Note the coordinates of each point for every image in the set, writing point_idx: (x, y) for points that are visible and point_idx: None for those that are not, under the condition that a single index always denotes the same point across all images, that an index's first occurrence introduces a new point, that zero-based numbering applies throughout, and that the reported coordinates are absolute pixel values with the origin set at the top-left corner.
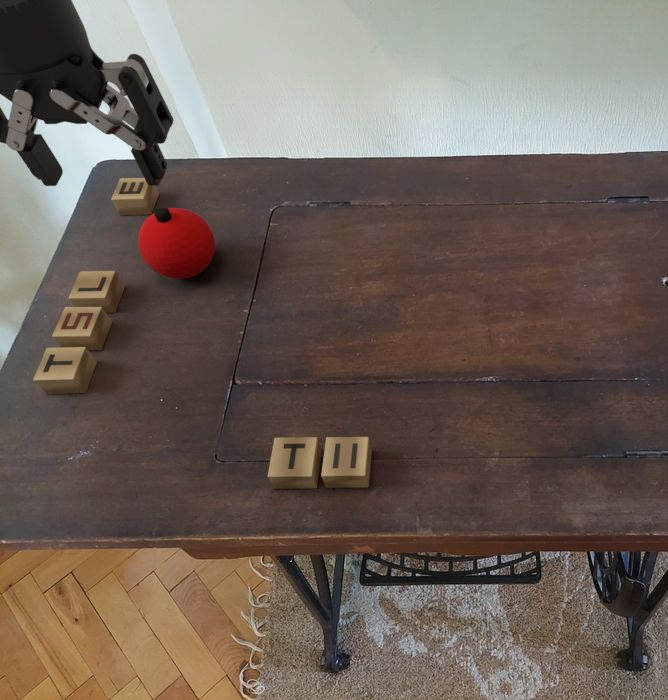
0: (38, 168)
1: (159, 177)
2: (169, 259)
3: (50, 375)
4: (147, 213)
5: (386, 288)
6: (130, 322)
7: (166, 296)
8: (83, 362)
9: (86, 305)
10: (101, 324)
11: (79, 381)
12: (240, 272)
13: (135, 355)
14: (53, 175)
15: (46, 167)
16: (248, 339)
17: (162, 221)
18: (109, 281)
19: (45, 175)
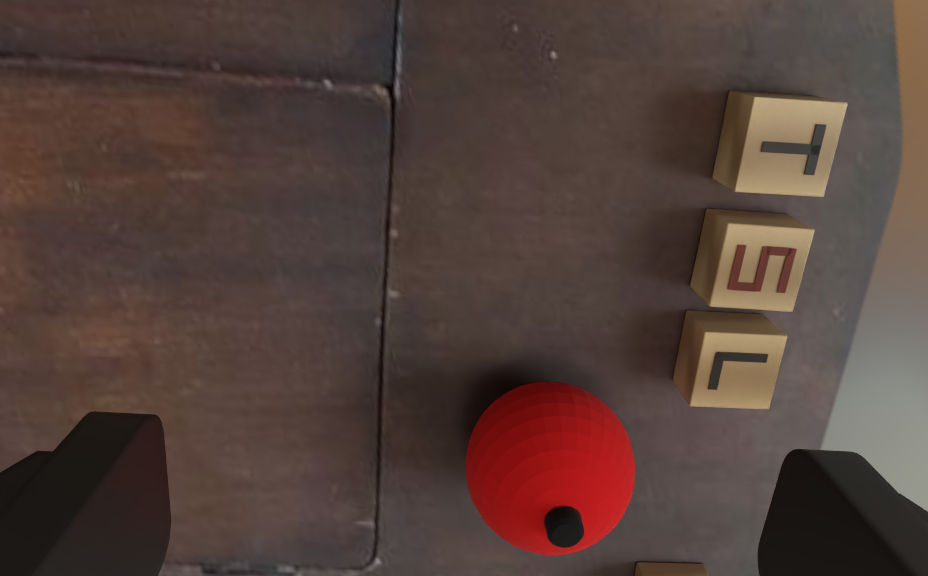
0: (914, 549)
1: (41, 459)
2: (552, 411)
3: (808, 113)
4: (645, 564)
5: (71, 333)
6: (650, 281)
7: (579, 346)
8: (736, 153)
9: (747, 323)
10: (708, 265)
11: (741, 103)
12: (422, 400)
13: (628, 188)
14: (804, 520)
15: (854, 566)
16: (375, 212)
17: (564, 508)
18: (699, 376)
19: (855, 503)
